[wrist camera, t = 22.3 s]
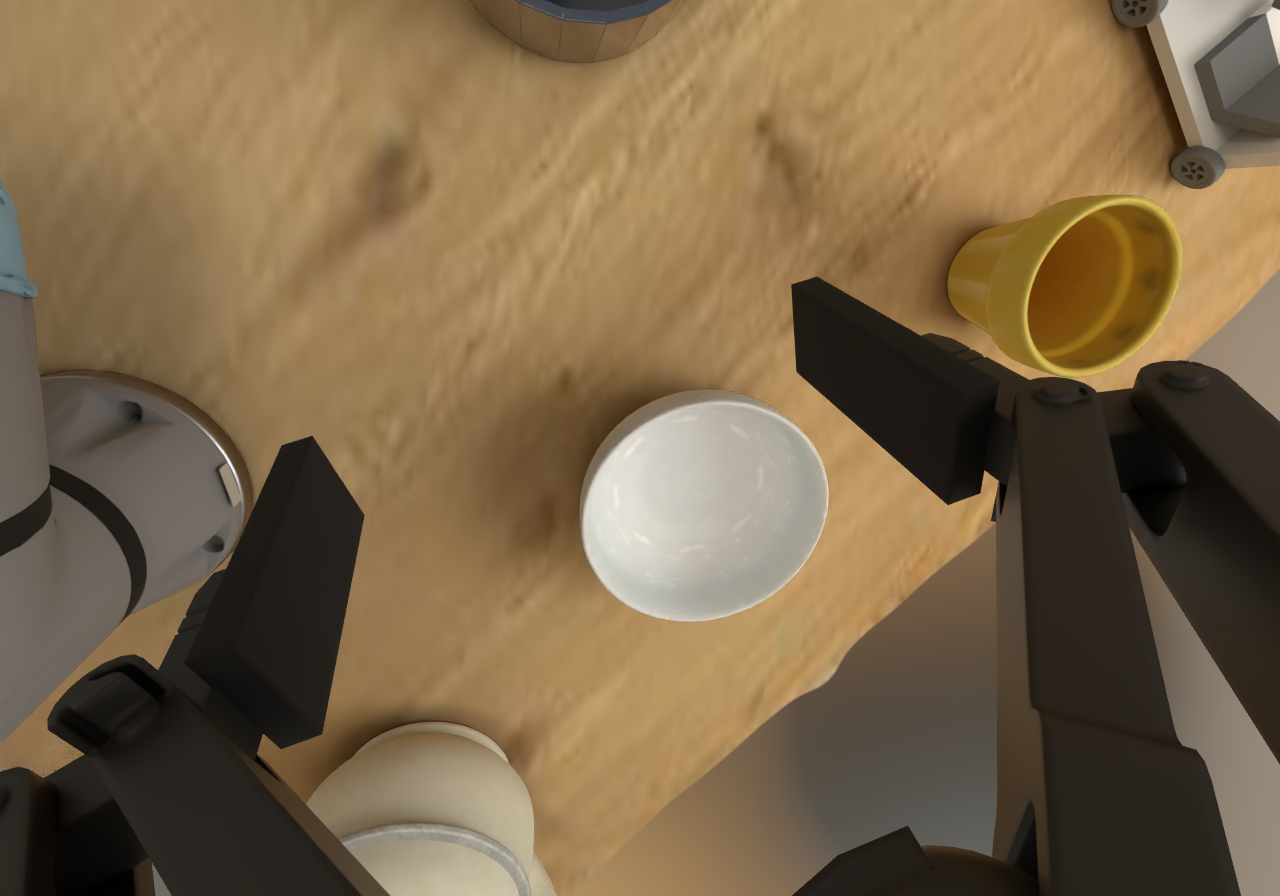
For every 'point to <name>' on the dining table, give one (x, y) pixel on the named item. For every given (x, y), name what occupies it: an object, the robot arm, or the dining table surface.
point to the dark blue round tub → (579, 25)
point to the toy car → (1217, 79)
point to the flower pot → (1071, 282)
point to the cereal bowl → (701, 505)
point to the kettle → (435, 814)
